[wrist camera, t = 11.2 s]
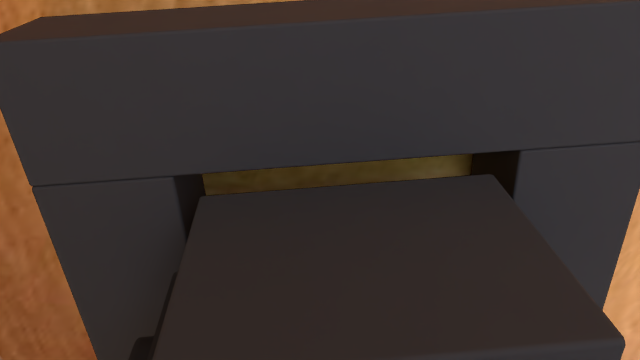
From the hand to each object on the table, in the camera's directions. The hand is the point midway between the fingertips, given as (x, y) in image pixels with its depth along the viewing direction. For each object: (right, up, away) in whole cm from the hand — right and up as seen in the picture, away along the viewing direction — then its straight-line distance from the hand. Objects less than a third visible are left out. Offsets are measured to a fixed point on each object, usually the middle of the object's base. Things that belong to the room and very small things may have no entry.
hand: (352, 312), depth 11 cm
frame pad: (0, +1, +3) cm, 3 cm away
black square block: (0, 0, +1) cm, 1 cm away
